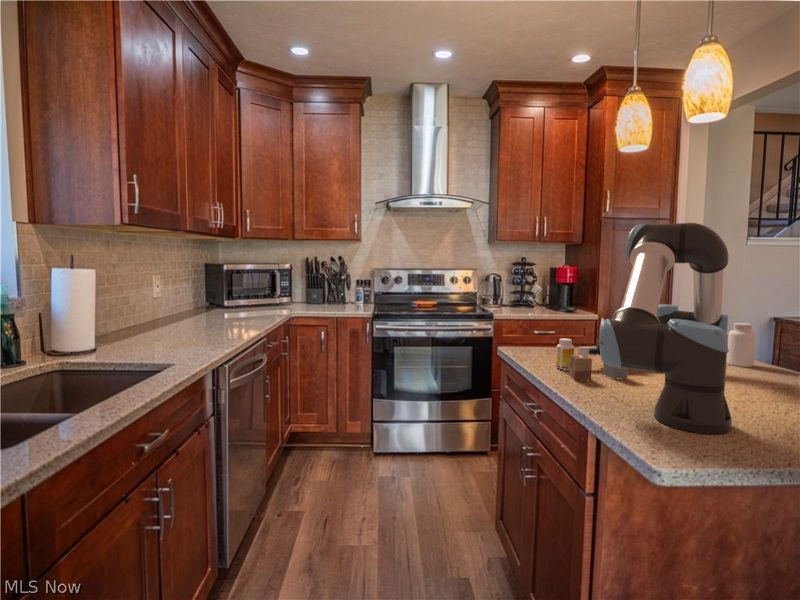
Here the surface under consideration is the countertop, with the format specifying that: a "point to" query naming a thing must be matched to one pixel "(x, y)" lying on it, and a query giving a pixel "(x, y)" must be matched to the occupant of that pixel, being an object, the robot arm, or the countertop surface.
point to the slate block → (614, 372)
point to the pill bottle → (741, 345)
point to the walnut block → (580, 367)
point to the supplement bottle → (564, 353)
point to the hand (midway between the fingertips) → (579, 351)
